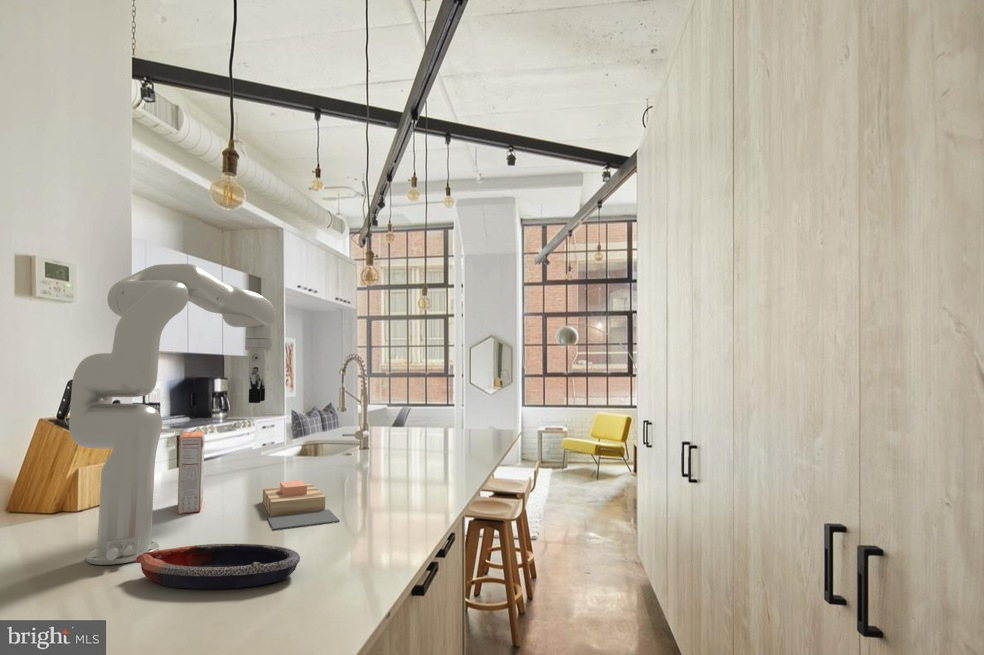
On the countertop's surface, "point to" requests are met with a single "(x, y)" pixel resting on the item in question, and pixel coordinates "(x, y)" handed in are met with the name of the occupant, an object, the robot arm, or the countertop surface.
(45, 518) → the countertop surface
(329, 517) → the mat
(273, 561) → the dish
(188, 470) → the cracker box
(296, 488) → the pink rectangular block
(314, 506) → the wooden block
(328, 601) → the countertop surface
